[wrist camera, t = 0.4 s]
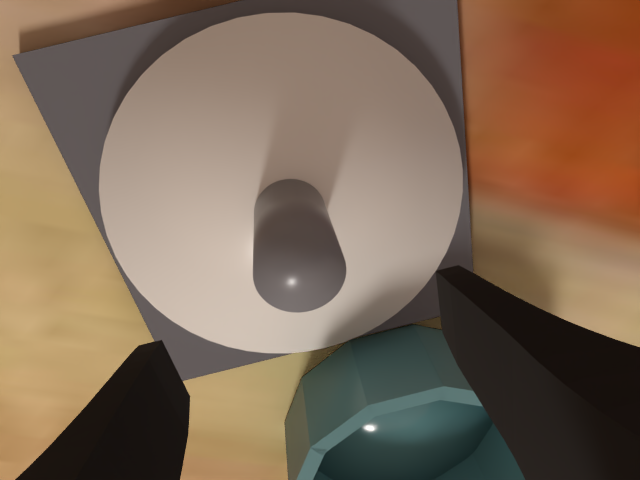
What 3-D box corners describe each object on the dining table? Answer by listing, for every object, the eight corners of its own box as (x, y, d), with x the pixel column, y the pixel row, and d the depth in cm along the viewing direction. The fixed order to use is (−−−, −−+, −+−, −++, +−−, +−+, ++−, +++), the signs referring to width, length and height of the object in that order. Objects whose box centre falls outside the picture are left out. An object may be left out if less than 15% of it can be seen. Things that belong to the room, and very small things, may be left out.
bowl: (498, 302, 24) (547, 359, 20) (503, 457, 30) (541, 525, 26) (262, 361, 24) (263, 431, 20) (314, 505, 30) (323, 581, 26)
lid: (441, -32, 16) (527, -55, 11) (465, 301, 23) (525, 383, 18) (33, 67, 16) (-75, 90, 11) (181, 373, 23) (158, 477, 18)
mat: (448, -49, 16) (453, -51, 16) (471, 302, 24) (475, 307, 23) (18, 54, 16) (12, 55, 16) (176, 375, 23) (175, 382, 23)
